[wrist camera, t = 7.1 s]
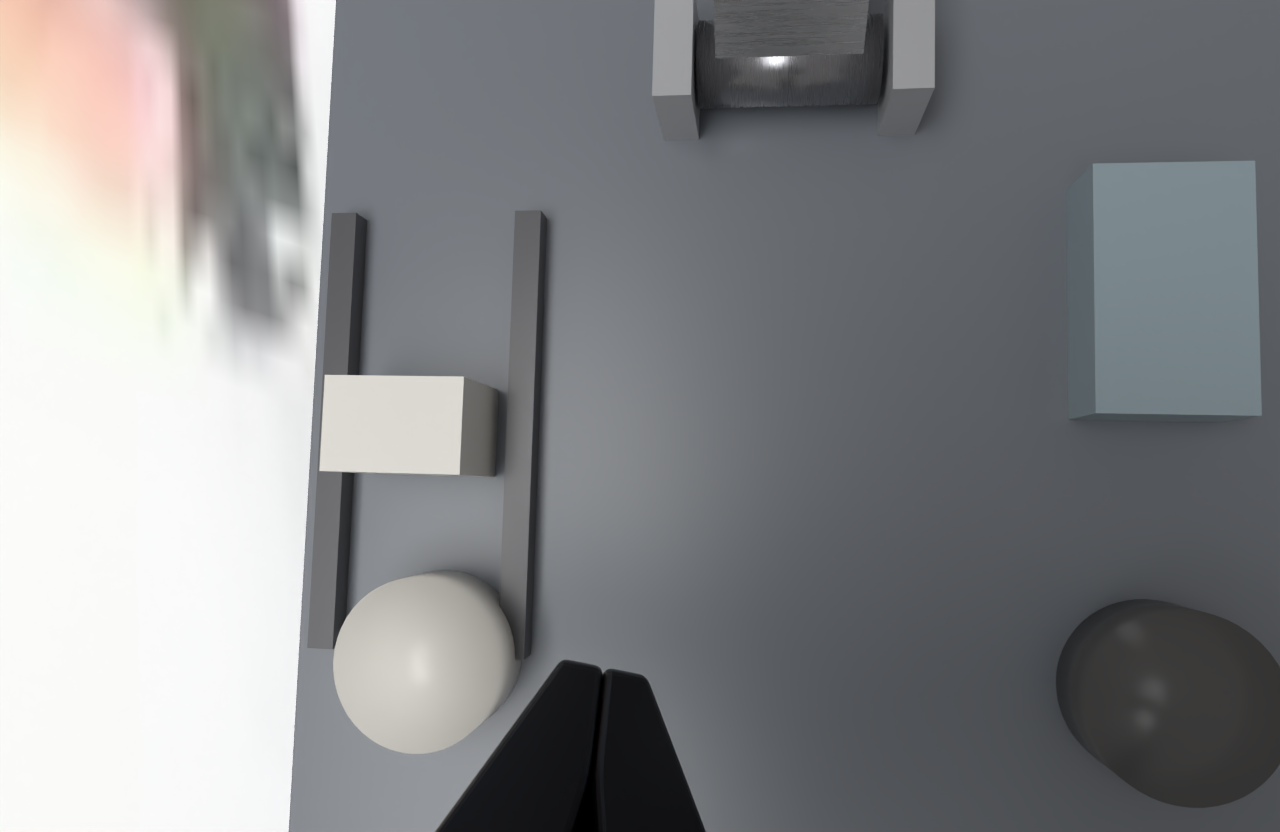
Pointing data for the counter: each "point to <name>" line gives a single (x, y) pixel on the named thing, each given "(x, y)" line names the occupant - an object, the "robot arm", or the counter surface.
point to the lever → (789, 54)
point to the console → (813, 414)
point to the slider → (408, 425)
